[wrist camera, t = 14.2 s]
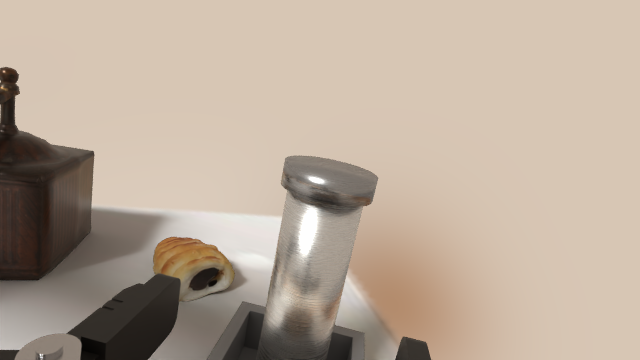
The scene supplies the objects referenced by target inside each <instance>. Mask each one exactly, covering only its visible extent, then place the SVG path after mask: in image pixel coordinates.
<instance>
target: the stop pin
mask: <svg viewBox="0 0 640 360" xmlns="http://www.w3.org/2000/svg"><path fill="white" fill-rule="evenodd" d="M377 181H378V177H377V176H376V175H375V174H373V173H372V172H370V171H368V170H365V169H363V168H360V167H357V166H354V165H351V164H348V163H343V162H340V161H336V160H331V159H326V158H320V157H312V156H290V157H287V158H285V163H284V168H283V174H282V180H281V185H282V186H283V187H284V188H285V189H287V196H286V201H285V206H284V212H283V217H282V222H281V228H280V233H279V239H278V244H277V249H276V255H275V260H274V266H273V271H272V276H271V282H270V287H269V293H268V298H267V303H266V309H265V314H264V320H263V325H262V330H261V336H260V341H259V347H258V352H257V357H256V360H326V357H327V353H328V349H329V345H330V341H331V337H332V333H333V328H334V324H335V320H336V316H337V312H338V308H339V304H340V299H341V295H342V291H343V287H344V283H345V279H346V275H347V270H348V266H349V262H350V258H351V254H352V250H353V246H354V241H355V237H356V233H357V229H358V225H359V221H360V217H361V213H362V208H363V206H367V205H369V204H371V203H372V201H373V197H374V193H375V189H376V185H377Z"/></svg>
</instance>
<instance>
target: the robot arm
mask: <svg viewBox="0 0 640 360" xmlns="http://www.w3.org/2000/svg"><path fill="white" fill-rule="evenodd" d="M180 287H181V281H180V279H179V278H176V277H172V276H168V275H164V274H161V273H158V274H156V275H155V276H154V277H153V278H151V279H150V280H149V281H148V282H146V283H145V284H144V285H143V284H140V283H139V284H136V285H134V286H131V287H129V288H126V289H124V290H122V291H121V292H120V293H119V294H117V295H116V296H115V297H113V298H112V300H109V301H108V302H107V303H106V304H104V305H103V307H102V308H99V309H98V310H97V311H95V312H94V313H93V314H91V315H90V316H89V317H87V318H86V319H85V320H84V321H82V322H81V323H80V324H78V325H77V326H76V327H75V328H73V329H72V330H71V331H69V332H68V333H67V334H52V335H47V336H44V337H41V338H38V339H36V340H34V341H32V342H30V343H28V344H27V345H25V346H24V347H23V348H22V349H21V350H0V360H148V359H149V358H150V356H151V355H152V354H153V353H154V352H155V350H156V349H157V348H158V347H159V346H160V345H161V343H162V342H163V341H164V340H165V339H166V337H167V336H168V335H169V334H170V332H171V331H172V329H173V327H174V324H175V322H176V318H177V312H178V304H179V295H180ZM395 360H431V358H430V354H429V350H428V347H427V344H426V342H423V341H420V340H416V339H412V338H408V337H403V338H402V340H401V342H400V346H399V349H398V352H397V356H396V359H395Z"/></svg>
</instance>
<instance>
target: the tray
mask: <svg viewBox="0 0 640 360" xmlns="http://www.w3.org/2000/svg"><path fill="white" fill-rule="evenodd" d="M265 309H266V307H263V306H259V305H255V304H251V303H247V302H242V304H241V305H240V307H239V309H238V310H237V312H236V313H235V315H234V317H233V318H232V320H231V321H230V323H229V325H228V326H227V328H226V329H225V331H224V333H223V334H222V336H221V337H220V339H219V341H218V342H217V344H216V345H215V347H214V349H213V350H212V352H211V353H210V355H209V357H208V358H207V360H256V357H257V352H258V347H259V341H260V336H261V330H262V325H263V320H264V314H265ZM326 360H364V333H362V332H359V331H355V330H351V329H347V328H343V327H339V326H336V325H334V328H333V333H332V337H331V341H330V345H329V349H328V353H327V357H326Z"/></svg>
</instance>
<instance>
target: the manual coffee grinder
mask: <svg viewBox="0 0 640 360" xmlns="http://www.w3.org/2000/svg"><path fill="white" fill-rule="evenodd" d="M18 77H19V74H18V73H17V71H16V70H14V69H12V68H8V67H4V68H0V80H1V83H0V104H1V118H0V280H39V279H40V278H42V277H43V276H45V275H46V274H48V273H49V272H51V271H52V270H53V269H54V268H55V267H56V266H57V265H58V264H59V263H60V262H61V261H62V260H64V259H65V258H66V257H67V256H68V255H69V254H70V253H71V252H72V251H73V250H74V249H75V248H76V246H77V245H78V244H79V243H80V242H81V241H82V240H83V239H84V238H85V236H86V235H87V234H88V233H89V232H90V230H91V201H92V184H93V164H94V152H93V151H89V150H83V149H77V148H71V147H64V146H58V145H51V144H49V143H48V142H47V141H46V140H44V139H41V138H38V137H36V136H34V135H32V134H30V133H27V132H23V131H19V130H18V128H17V126H16V125H15V95H18V94H20V91H19V87H18V86H17V85H16V82H17V80H18Z"/></svg>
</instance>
